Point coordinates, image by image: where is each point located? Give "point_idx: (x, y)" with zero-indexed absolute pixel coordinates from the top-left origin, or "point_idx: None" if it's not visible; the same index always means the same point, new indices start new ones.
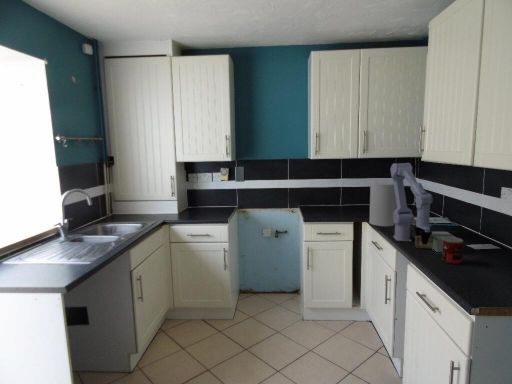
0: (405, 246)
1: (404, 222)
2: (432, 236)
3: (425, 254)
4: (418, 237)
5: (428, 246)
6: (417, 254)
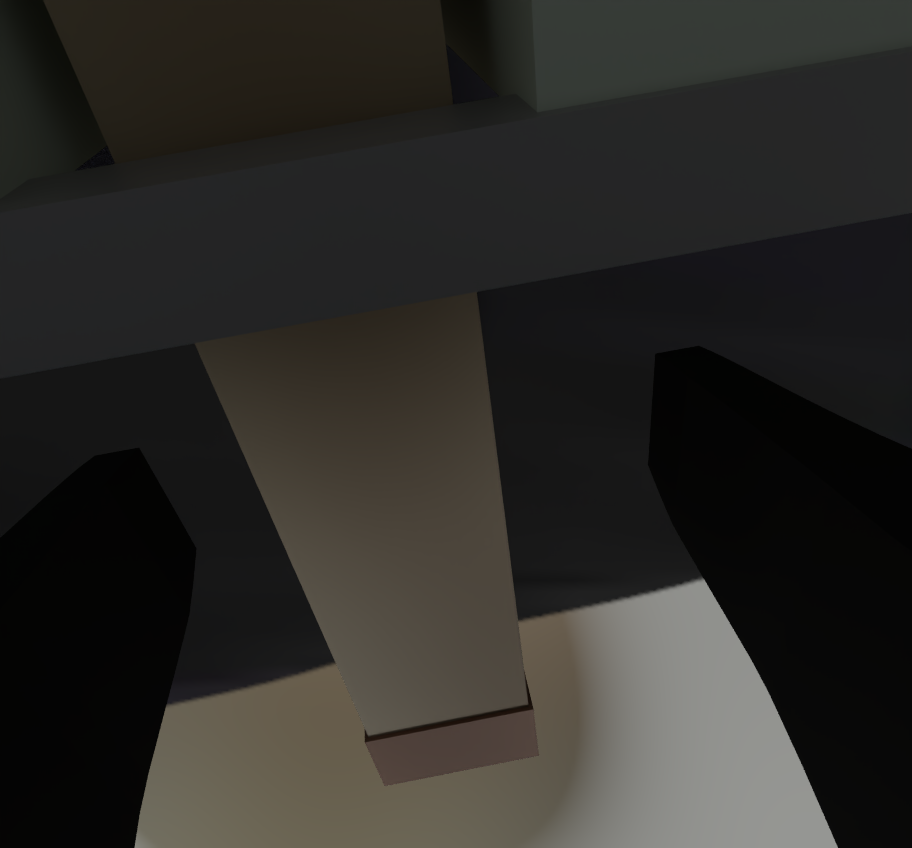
0: None
1: None
2: (695, 231)
3: (859, 306)
4: (528, 701)
5: None
6: None
